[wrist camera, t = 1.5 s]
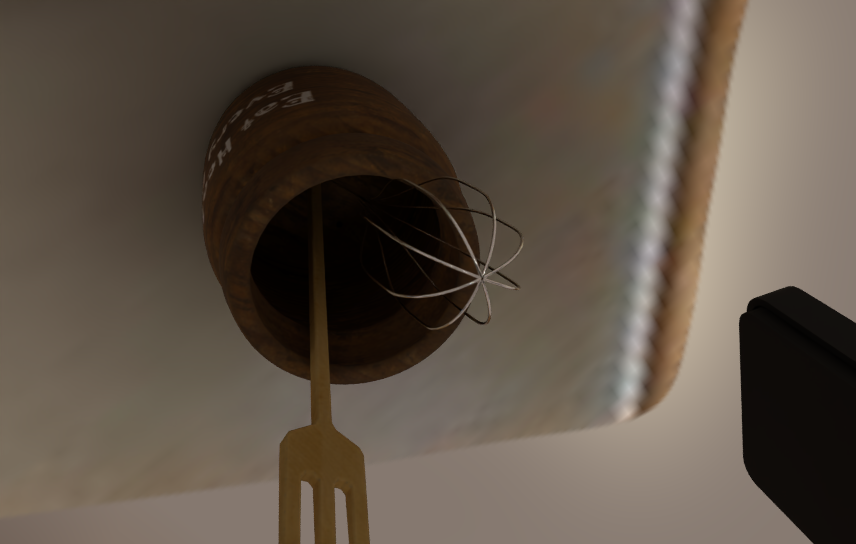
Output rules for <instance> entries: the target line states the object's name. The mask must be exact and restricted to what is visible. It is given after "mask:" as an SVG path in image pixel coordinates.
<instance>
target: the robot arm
mask: <svg viewBox="0 0 856 544" xmlns="http://www.w3.org/2000/svg"><path fill="white" fill-rule="evenodd" d="M739 335H740V370H741V401H742V434H743V459H744V464H745V467H746V469H747V471H748V474H749V475H750V477H751V478H752V480H753V481H754V483H755V484H756V485H757V486H758V487H759V488H760V489H761V490H762V491H763V492H764V493H765V494H766V495H767V496H768V497H769V498H770V499H771V500H772V501H773V503H775V505H776V506H777V507H778V508H779V509H780V510H781V511H782V512H784V514H785V515H786V516H787V517H788V518H789V519H790V520H791V521H792V522H793V523H794V524H795V525H796V526H797V527H798V528H799V529H800V530H801V531H802V532H803V533H804V534H805V535H806V536H807V537H808V538H809V539H810V541H811V542H813V544H856V323H855V322H853V321H852V320H850V319H848V318H847V317H845V316H843V315H842V314H840V313H838V312H837V311H835V310H834V309H832V308H830V307H829V306H827V305H826V304H824V303H822V302H821V301H819V300H817V299H815V298H814V297H812V296H811V295H809V294H808V293H806V292H804V291H803V290H801V289H799V288H797V287H794V286H788V287H785V288H782V289H779V290H776V291H774V292H771V293H768V294H765V295H762V296H759V297H756V298H754V299H752V300H751V301H750V302H749V304H748V306H747V312H746V313H744V314H742V315H741V317H740V320H739Z"/></svg>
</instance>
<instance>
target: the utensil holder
mask: <svg viewBox="0 0 856 544" xmlns="http://www.w3.org/2000/svg"><path fill="white" fill-rule="evenodd" d="M459 182H460V183H463V184H465V185H467V186H469V187H471V188H473V189H475V190H477V191H479V192H480V193H481V194H483V195H484V196H485V197H486V198H487V200H488V202H489V204H490V207H491V211H492V215H490V214H488V213H485V212H482V211H478V210H474V209H469V207H468V205H467V203H466V200H465V198H464V197H463V195H462V193H461V189H460V185H459ZM470 211H471V212H476V213H480V214H483V215H486V216H488V217H491V218H493V234H492V241H491V247H490V251H489V255H488V258H487V261H486V263H484V262H482V261H480V249H479V242H478V236H477V232H476V228H475V225H474V222H473V219H472V216H471V213H470ZM202 220H203V233H204V239H205V245H206V249H207V253H208V257H209V260H210V263H211V266H212V269H213V271H214V273H215V275H216V277H217V279H218V281H219V283H220V285H221V286H222V289H223V293H224V296H225V299H226V301H227V304H228V306H229V308H230V311H231V313H232V315H233V317H234V319H235V321H236V323H237V324H238V326H239V328H240V330H241V332H242V333H243V334H244V336H245V337H246V339H247V340H248V341H249V342H250V344H251V345H252V346H253V347H254V348H255V349H256V350H257V351H258V352H259V353H260V354H261V355H262V356H263V357H265V358H266V359H267V360H268V361H270V362H271V363H273V364H274V365H276V366H277V367H279V368H281V369H282V370H284V371H286V372H289V373H291V374H293V375H296V376H298V377H301V378H304V379H307V380H311V425H309V426H306V427H302V428H298V429H295V430H291V431H289V432H288V433H287V434H286V436H285V437H284V439H283V440H282V442H281V443H280V455H279V544H300V513H301V512H300V511H301V509H300V508H301V481H306V482H308V483H309V484H310V485H311V486H312V488H313V502H314V532H315V544H336V528H335V494H334V488H339V489H341V490H342V491H343V493H344V494H345V496H346V508H347V522H348V534H349V544H370V540H369V524H368V510H367V495H366V480H365V466H364V455H363V453H362V451H361V450H360V448H359V447H358V446H357V445H355V444H354V443H353V442H351V441H350V440H349V439H347V438H346V437H345V436H343V435H342V434H341V433H340V432H338V431H337V430H336V429H335V427H334V426H333V424H332V418H331V396H330V384H345V385H346V384H359V383H367V382H372V381H376V380H380V379H384V378H387V377H390V376H393V375H395V374H398V373H400V372H402V371H404V370H407V369H409V368H411V367H412V366H414V365H416V364H418V363H419V362H421V361H422V360H424V359H425V358H427V357H428V356H429V355H430V354H432V353H433V352H434V351H435V350H437V349H438V348H439V347H440V346H441V345H442V344H443V343H444V342H445V341H446V340H447V339H448V338H449V337H450V335H451V334H452V333H453V332H454V331H455V329H456V328H457V327H458V325H459V324H460V322H461V321H462V319H463V317H464V316H465V315H466V316H467V317H469V318H470V319H471V320H473V321H474V322H476V323H478V324H480V325H487V324H488V323H489V322H490V320H491V304H490V299H489V295H488V291H487V288H486V285H485V282H484V281H486V282H489V283H491V284H494V285H497V286H500V287H504V288H507V289H511V290H520V289H521V287H520V286H519V285H518V284H517V283H516V282H514V281H513V280H511V279H510V278H508V277H507V276H505V275H503V274H502V273H500V272H499V270H500V269H502V268H503V267H505V266H506V265H508V264H509V263H510V262H511V261H512V260H513V259H514V258H515V257H516V256H517V255H518V254H519V252H520V251H521V249H522V247H523V243H524V238H523V235H522V233H521V232H520V231H519V230H518V229H517V228H515V227H514V226H512V225H510V224H508V223H506V222H505V221H503V220H501V219H499V218H497V217H496V216H495V210H494V206H493V204H492V201H491V199H490V197H489V196H488V195H487V194H486V193H485V192H484V191H482V190H481V189H479V188H477V187H475V186H473V185H471V184H469V183H467V182H465V181H463V180H460V179H457V176H456V174H455V171H454V169H453V167H452V165H451V163H450V161H449V159H448V157H447V155H446V154H445V152H444V151H443V149H442V148H441V146H440V145H439V143H438V142H437V141H436V139H435V138H434V137H433V136H432V134H431V133H430V132H429V131H428V130H427V128H426V127H425V126H424V125H423V124H422V123H421V122H420V121H419V120H418V119H417V118H416V117H415V116H414V115H413V114H412V113H411V112H410V111H409V110H408V109H407V108H406V107H405V106H404V105H403V104H402V103H401V102H400V101H399V100H398V99H397V98H395V97H394V96H393V95H392V94H391V93H389V92H388V91H387V90H385V89H384V88H383V87H381V86H380V85H378V84H377V83H375V82H373V81H371V80H370V79H368V78H366V77H364V76H361V75H359V74H356V73H353V72H350V71H347V70H343V69H339V68H334V67H327V66H304V67H297V68H291V69H287V70H284V71H280V72H278V73H275V74H272V75H270V76H268V77H266V78H264V79H262V80H260V81H258V82H256V83H255V84H254V85H252V86H251V87H249V88H248V89H247V90H245V91H244V92H243V93H242V94H241V95H240V96H238V97H237V98H236V99H235V100H234V102H233V103H232V104H231V105H230V106H229V107H228V109H227V110H226V111H225V113H224V114H223V116H222V117H221V119H220V121H219V122H218V124H217V126H216V128H215V130H214V132H213V134H212V137H211V139H210V143H209V146H208V149H207V153H206V158H205V164H204V172H203V191H202ZM496 220H497V221H499V222H501V223H503V224H504V225H506V226H508V227H510V228H512V229H513V230H515V231H516V232H517V233H518V234H519V235H520V238H521V243H520V246H519V248H518V250H517V251H516V253H515V254H514V255H513V256H512V257H511V258H510V259H509V260H508V261H506V262H505V263H504V264H502V265H501V266H499V267H498V268H496V269H494V268H492V267H491V266H489V262H490V259H491V256H492V252H493V248H494V242H495V236H496ZM480 263H481V264H482V265H484V266H485V267H484V269H483V272H482V273H481V271H480ZM487 268H489V269H491V270H492V271H491V272H489V273H487V274H485V273H486V270H487ZM494 273H497V274H498V275H500V276H502V277H503V278H505V279H506V280H508V281H509V282H511V283H512V284H514V285H515V286H516V287H511V286H508V285H504V284H501V283H498V282H495V281H492V280H490V279H487V278H486V277H488V276H490V275H492V274H494ZM481 277H482V279H481ZM477 282H478V283H477ZM481 283H482V286H483V289H484V292H485V296H486V300H487V305H488V319H487V321H486V322H484V323H483V322H480V321H478V320H476V319H475V318H473V317H472V316H471V315H469V314H468V313H467V310H468V308H469V306H470V304H471V301H472V300H473V298H474V296H475V294H476V293H477V291H478V289H479V286H480V284H481Z"/></svg>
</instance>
